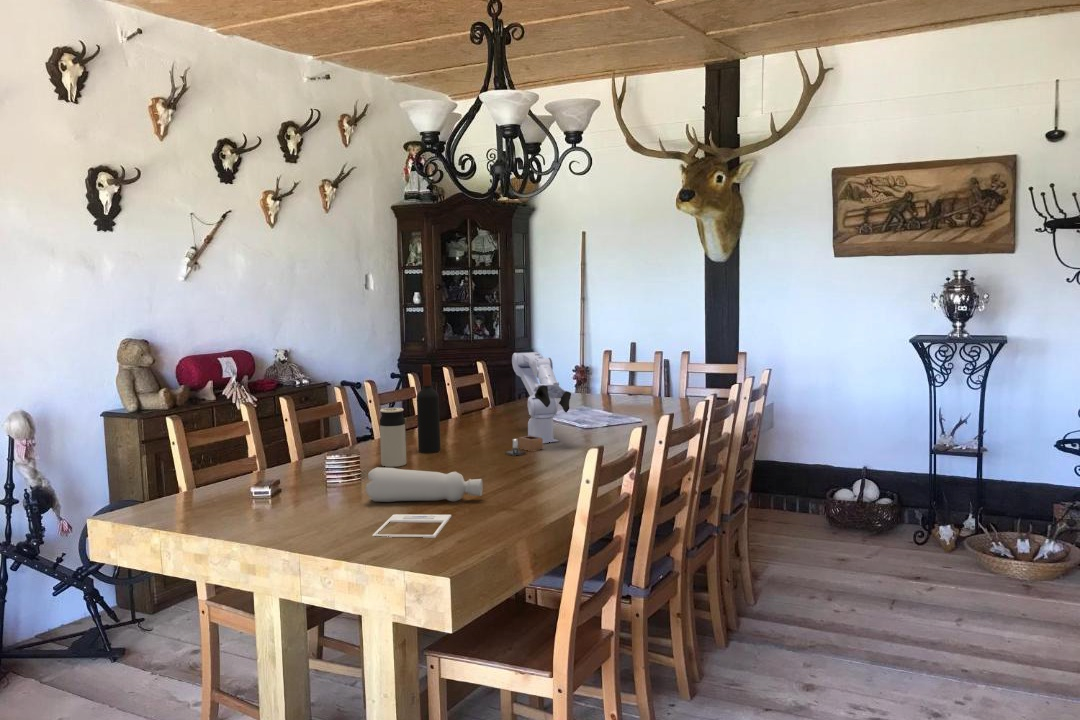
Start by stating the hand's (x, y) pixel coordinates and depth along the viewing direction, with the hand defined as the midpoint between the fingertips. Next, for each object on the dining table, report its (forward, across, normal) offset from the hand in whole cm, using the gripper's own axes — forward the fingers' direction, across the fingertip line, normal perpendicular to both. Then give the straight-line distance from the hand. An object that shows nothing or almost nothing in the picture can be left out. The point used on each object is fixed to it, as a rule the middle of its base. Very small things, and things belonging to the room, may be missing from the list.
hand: (557, 407), depth 296 cm
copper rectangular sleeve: (+2, -1, +18) cm, 18 cm away
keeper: (+8, -9, +17) cm, 21 cm away
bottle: (+53, -54, +4) cm, 76 cm away
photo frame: (+73, -65, -6) cm, 98 cm away
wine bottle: (-6, -31, +36) cm, 47 cm away
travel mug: (+10, -48, +31) cm, 58 cm away
